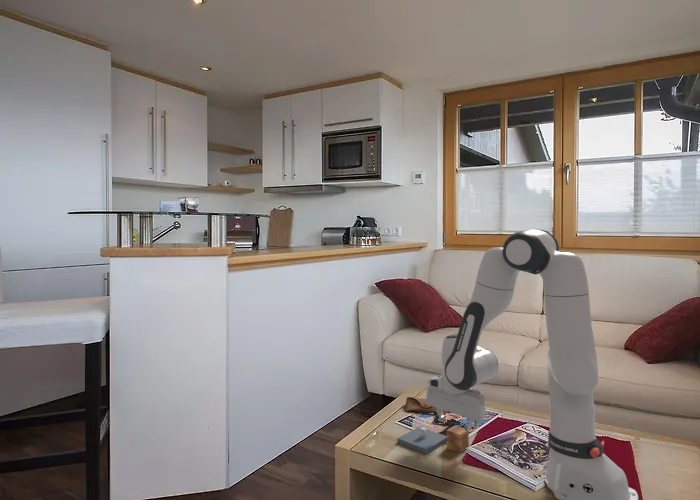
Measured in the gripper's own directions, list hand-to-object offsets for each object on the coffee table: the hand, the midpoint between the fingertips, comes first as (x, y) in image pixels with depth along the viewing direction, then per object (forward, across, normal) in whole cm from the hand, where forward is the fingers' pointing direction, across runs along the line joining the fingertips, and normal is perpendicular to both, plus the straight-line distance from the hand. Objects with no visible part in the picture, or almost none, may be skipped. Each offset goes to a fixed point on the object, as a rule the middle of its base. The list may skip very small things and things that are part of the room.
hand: (454, 425), depth 153 cm
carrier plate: (+8, +10, +4) cm, 13 cm away
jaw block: (+7, -1, 0) cm, 7 cm away
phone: (+8, +11, -18) cm, 22 cm away
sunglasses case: (+8, +25, -20) cm, 33 cm away
